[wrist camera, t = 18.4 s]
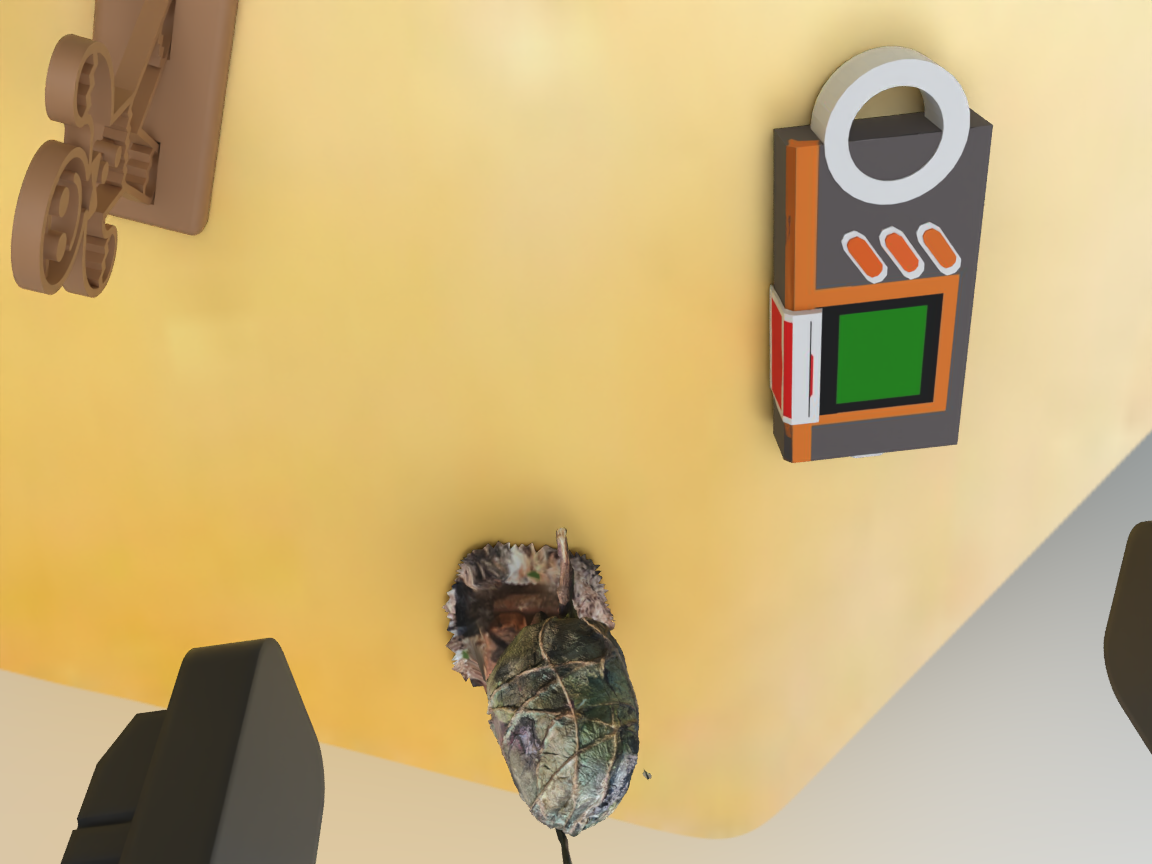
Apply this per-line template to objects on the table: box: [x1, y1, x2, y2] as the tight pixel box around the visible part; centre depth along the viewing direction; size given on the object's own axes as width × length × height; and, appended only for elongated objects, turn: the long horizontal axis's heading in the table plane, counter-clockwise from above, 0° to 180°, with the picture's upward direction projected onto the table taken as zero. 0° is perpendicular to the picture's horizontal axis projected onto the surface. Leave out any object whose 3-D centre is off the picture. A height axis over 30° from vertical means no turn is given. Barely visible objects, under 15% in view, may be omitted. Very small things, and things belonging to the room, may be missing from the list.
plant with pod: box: [442, 528, 651, 864], centre depth 39 cm, size 8×11×20 cm
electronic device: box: [770, 46, 993, 463], centre depth 37 cm, size 7×3×15 cm
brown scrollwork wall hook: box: [11, 0, 238, 297], centre depth 29 cm, size 9×4×12 cm, turn 162°
